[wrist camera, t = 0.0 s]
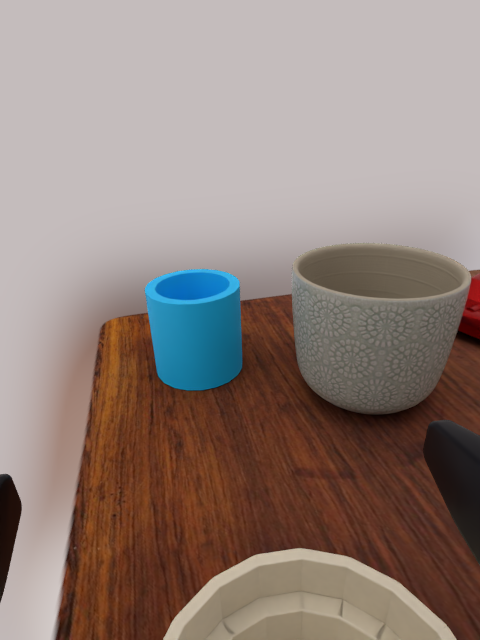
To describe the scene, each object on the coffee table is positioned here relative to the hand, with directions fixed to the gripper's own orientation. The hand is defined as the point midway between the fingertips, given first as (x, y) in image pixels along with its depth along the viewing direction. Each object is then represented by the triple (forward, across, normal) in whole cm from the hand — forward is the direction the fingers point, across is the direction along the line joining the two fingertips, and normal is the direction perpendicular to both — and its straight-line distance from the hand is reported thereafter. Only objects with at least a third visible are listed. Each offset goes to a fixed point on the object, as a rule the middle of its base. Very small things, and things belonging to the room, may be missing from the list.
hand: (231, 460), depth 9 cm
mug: (+29, 0, +15) cm, 32 cm away
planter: (+21, -13, +15) cm, 28 cm away
